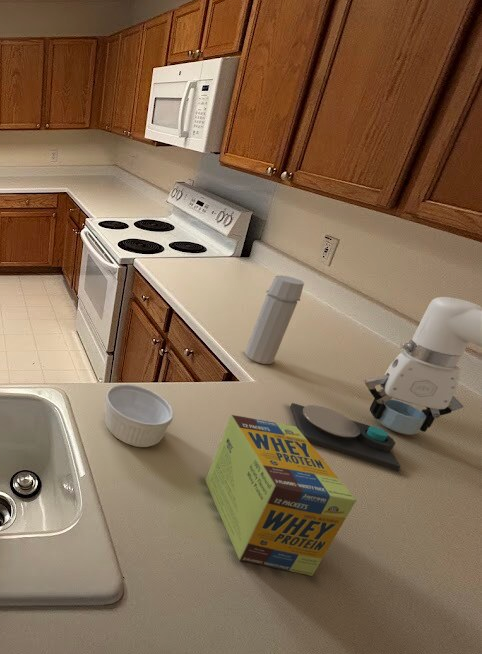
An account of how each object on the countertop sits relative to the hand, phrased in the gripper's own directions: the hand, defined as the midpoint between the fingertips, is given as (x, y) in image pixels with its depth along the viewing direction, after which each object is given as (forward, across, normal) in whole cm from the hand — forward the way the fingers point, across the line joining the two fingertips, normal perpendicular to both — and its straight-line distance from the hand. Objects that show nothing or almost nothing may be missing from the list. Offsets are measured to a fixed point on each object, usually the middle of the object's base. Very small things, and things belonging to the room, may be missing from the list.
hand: (396, 421), depth 94 cm
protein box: (+2, -33, -47) cm, 57 cm away
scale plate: (-1, -15, -11) cm, 19 cm away
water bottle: (+2, -25, +20) cm, 32 cm away
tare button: (0, -7, -11) cm, 13 cm away
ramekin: (+2, -54, -34) cm, 63 cm away
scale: (+2, -13, -11) cm, 17 cm away
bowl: (+1, 0, 0) cm, 1 cm away
